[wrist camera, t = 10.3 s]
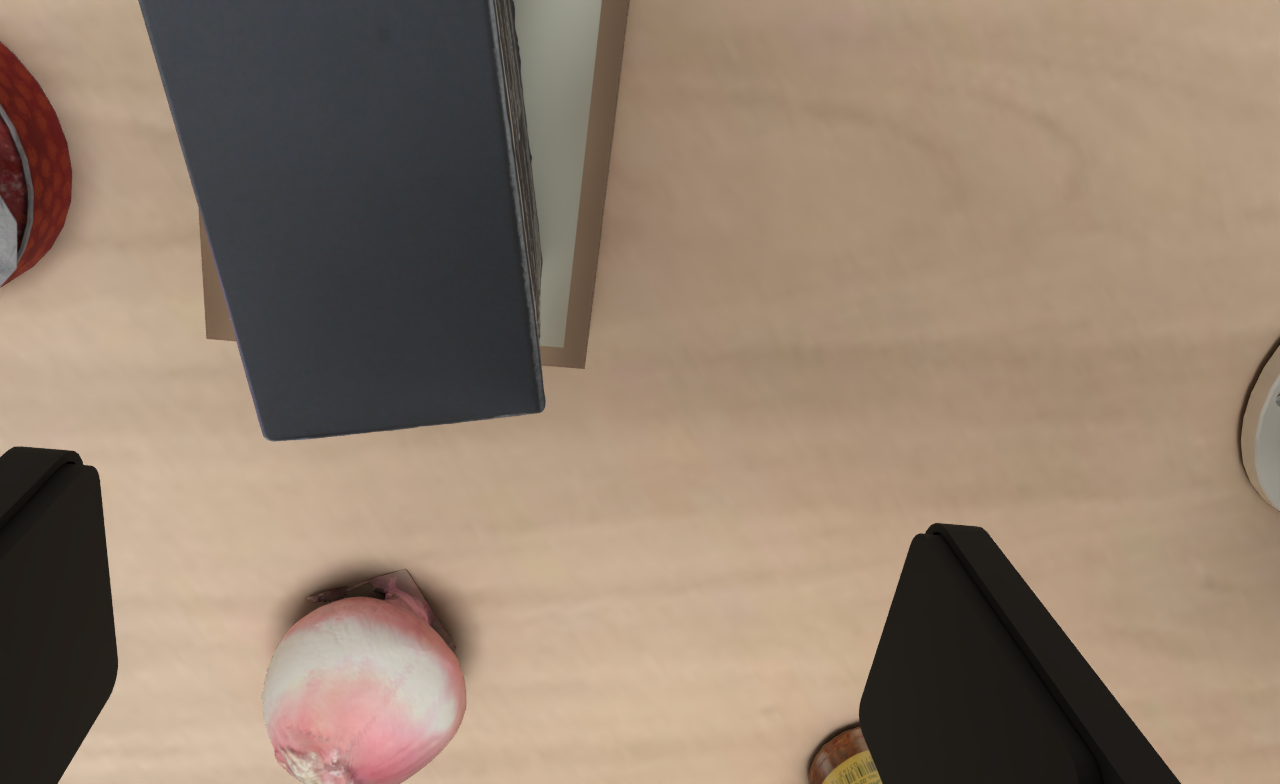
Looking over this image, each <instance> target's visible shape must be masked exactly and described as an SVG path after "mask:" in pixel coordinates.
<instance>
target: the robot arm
mask: <svg viewBox="0 0 1280 784" xmlns="http://www.w3.org/2000/svg"><path fill="white" fill-rule="evenodd" d="M1241 449H1242V457H1243V465H1244V467H1245V470H1246V472H1247V475H1248V477H1249V480H1250V483H1251V484H1252V485H1253V487H1254V488H1255V489H1256V491H1257V492H1258V493H1259V495H1260V496H1261V497H1262V498H1263V499H1264V500H1265V501H1267V502H1268V503H1269V504H1270V505H1272V506H1273V507H1274V508H1276V509H1277V510H1278V511H1279V512H1280V345H1279V347H1278V348H1277V350H1276V351H1275V352H1274V354H1273V355H1272V357H1271V358H1270V360H1269V361H1268V362H1267V364H1266V365H1265V367H1264V368H1263V370H1262V372H1261V374H1260V376H1259V378H1258V381H1257V383H1256V385H1255V387H1254V389H1253V391H1252V393H1251V395H1250V399H1249V402H1248V405H1247V408H1246V412H1245V415H1244V418H1243V427H1242V436H1241ZM117 670H118V656H117V646H116V636H115V626H114V616H113V606H112V596H111V586H110V576H109V566H108V556H107V546H106V536H105V527H104V517H103V507H102V497H101V487H100V479H99V474H98V472H97V470H96V468H95V467H93V466H87V465H83V462H82V459H81V458H80V456H79V454H78V453H76V452H75V451H68V450H56V449H44V448H32V447H13V448H11V449H10V450H8V451H7V452H6V453H5V454H3V455H2V456H1V457H0V784H58V782H59V780H60V779H61V777H62V775H63V774H64V772H65V770H66V769H67V767H68V765H69V764H70V762H71V760H72V759H73V757H74V755H75V754H76V752H77V750H78V749H79V747H80V745H81V744H82V742H83V740H84V739H85V737H86V735H87V734H88V732H89V730H90V729H91V727H92V725H93V724H94V722H95V720H96V719H97V717H98V715H99V714H100V712H101V710H102V709H103V707H104V705H105V704H106V702H107V700H108V699H109V697H110V695H111V693H112V690H113V687H114V684H115V681H116V676H117ZM859 721H860V728H861V731H862V734H863V737H864V739H865V742H866V744H867V747H868V749H869V752H870V754H871V756H872V759H873V761H874V764H875V766H876V769H877V771H878V774H879V776H880V779H881V781H882V784H1181V783H1180V782H1179V780H1178V779H1177V778H1176V777H1175V775H1174V774H1173V773H1172V771H1171V770H1170V769H1169V767H1168V766H1167V765H1166V764H1165V762H1164V761H1163V760H1162V758H1161V757H1160V756H1159V755H1158V753H1157V752H1156V751H1155V749H1154V748H1153V747H1152V745H1151V744H1150V743H1149V742H1148V740H1147V739H1146V738H1145V736H1144V735H1143V734H1142V732H1141V731H1140V730H1139V729H1138V727H1137V726H1136V725H1135V723H1134V722H1133V721H1132V720H1131V718H1130V717H1129V716H1128V714H1127V713H1126V712H1125V710H1124V709H1123V708H1122V707H1121V705H1120V704H1119V703H1118V701H1117V700H1116V699H1115V697H1114V696H1113V695H1112V694H1111V692H1110V691H1109V690H1108V688H1107V687H1106V686H1105V684H1104V683H1103V682H1102V681H1101V679H1100V678H1099V677H1098V675H1097V674H1096V673H1095V672H1094V670H1093V669H1092V668H1091V666H1090V665H1089V664H1088V662H1087V661H1086V660H1085V659H1084V657H1083V656H1082V655H1081V653H1080V652H1079V651H1078V649H1077V648H1076V647H1075V646H1074V644H1073V643H1072V642H1071V640H1070V639H1069V638H1068V637H1067V635H1066V634H1065V633H1064V631H1063V630H1062V629H1061V627H1060V626H1059V625H1058V624H1057V622H1056V621H1055V620H1054V618H1053V617H1052V616H1051V614H1050V613H1049V612H1048V611H1047V609H1046V608H1045V607H1044V605H1043V604H1042V603H1041V602H1040V600H1039V599H1038V598H1037V596H1036V595H1035V594H1034V592H1033V591H1032V590H1031V589H1030V587H1029V586H1028V585H1027V583H1026V582H1025V581H1024V579H1023V578H1022V577H1021V576H1020V574H1019V573H1018V572H1017V570H1016V569H1015V568H1014V567H1013V565H1012V564H1011V563H1010V561H1009V560H1008V559H1007V557H1006V556H1005V555H1004V554H1003V552H1002V551H1001V550H1000V548H999V547H998V546H997V544H996V543H995V542H994V541H993V539H992V538H991V537H990V535H989V534H988V533H987V532H986V531H985V530H984V529H983V528H981V527H977V526H965V525H953V524H941V523H935V524H933V525H931V526H930V527H929V528H928V530H927V531H926V533H925V534H918V535H916V536H915V537H914V538H913V540H912V542H911V545H910V548H909V551H908V554H907V557H906V560H905V563H904V567H903V570H902V573H901V576H900V579H899V582H898V585H897V588H896V592H895V595H894V598H893V601H892V604H891V607H890V610H889V613H888V617H887V620H886V623H885V626H884V629H883V632H882V635H881V639H880V642H879V645H878V648H877V651H876V654H875V657H874V660H873V664H872V667H871V670H870V673H869V676H868V679H867V682H866V685H865V689H864V692H863V695H862V698H861V702H860V708H859Z"/></svg>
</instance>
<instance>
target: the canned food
mask: <svg viewBox="0 0 1280 784" xmlns="http://www.w3.org/2000/svg"><path fill="white" fill-rule="evenodd" d="M71 189H72V169H71V163H70V157H69V151H68V145H67V141H66V139H65V136H64V133H63V131H62V128H61V125H60V123H59V120H58V117H57V114H56V112H55V110H54V109H53V107H52V105H51V104H50V102H49V100H48V99H47V97H46V95H45V93H44V92H43V90H42V88H41V87H40V85H39V83H38V82H37V81H36V79H35V78H34V77H33V76H32V75H31V73H30V72H29V71H28V70H27V69H26V67H25V66H24V65H23V64H22V63H21V61H20V60H19V59H18V58H17V57H16V55H15V54H14V53H13V52H11V51H10V50H9V49H8V48H7V47H6V46H5V45H4V44H2V43H1V42H0V287H2V286H4V285H5V284H7V283H8V282H10V281H11V280H13V279H14V278H16V277H18V276H19V275H21V274H22V273H24V272H25V271H27V270H29V269H30V268H32V267H33V266H34V265H35V264H36V263H37V262H38V261H39V260H40V259H41V258H42V257H43V256H44V255H45V254H46V253H47V252H48V251H49V250H50V249H51V247H52V246H53V244H54V242H55V240H56V239H57V237H58V235H59V234H60V232H61V230H62V228H63V227H64V223H65V220H66V216H67V213H68V209H69V206H70V202H71Z"/></svg>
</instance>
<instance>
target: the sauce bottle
mask: <svg viewBox="0 0 1280 784" xmlns="http://www.w3.org/2000/svg"><path fill="white" fill-rule="evenodd" d="M809 784H882V781H881V779H880V776H879V774H878V771H877V769H876V766H875V764H874V761H873V759H872V756H871V754H870V752H869V749H868V747H867V744H866V742H865V739H864V737H863V734H862V731H861V728H860V726H859V727H856V728H854V729H849V730H846V731H844V732H842V733H840V734H839V735H837V736H836V737H834V738H833V739H832V740H831V741H829V742H828V743H826V744H824V745H823V747H822V748H821V750H820V751H819V752H818V754H817V755H816V756H815V758H814V761H813V763H812V765H811V767H810V771H809Z"/></svg>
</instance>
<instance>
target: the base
mask: <svg viewBox="0 0 1280 784" xmlns="http://www.w3.org/2000/svg"><path fill="white" fill-rule="evenodd" d="M513 2H514V6H515V29H516V34H517V37H518V45H519V48H520V50H519V54H520V58H521V79H522V86H523V96H524V106H525V113H526V121H527V131H528V138H529V147H530V152H531V155H532V162H531V165H532V173H533V183H534V191H535V200H536V208H537V216H538V223H539V235H540V244H541V253H542V259H543V264H542V272H541V273H542V275H541V288H540V293H541V295H540V302H541V303H540V353H541V365H544V366H556V367H569V368H581V369H585V361H586V353H587V344H588V336H589V328H590V320H591V311H592V303H593V295H594V287H595V279H596V270H597V262H598V254H599V246H600V237H601V229H602V221H603V213H604V205H605V196H606V188H607V180H608V172H609V163H610V155H611V147H612V139H613V131H614V122H615V114H616V106H617V98H618V89H619V81H620V73H621V65H622V57H623V48H624V40H625V32H626V24H627V16H628V7H629V0H513ZM199 221H200V238H201V254H202V271H203V287H204V304H205V320H206V336H207V339H215V340H228V341H236V337H235V333H234V330H233V326H232V323H231V319H230V316H229V312H228V309H227V305H226V302H225V298H224V295H223V291H222V288H221V284H220V281H219V277H218V274H217V270H216V267H215V263H214V260H213V256H212V253H211V249H210V245H209V242H208V238H207V234H206V231H205V227H204V224H203V220H202V217H201V213H200V210H199Z"/></svg>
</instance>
